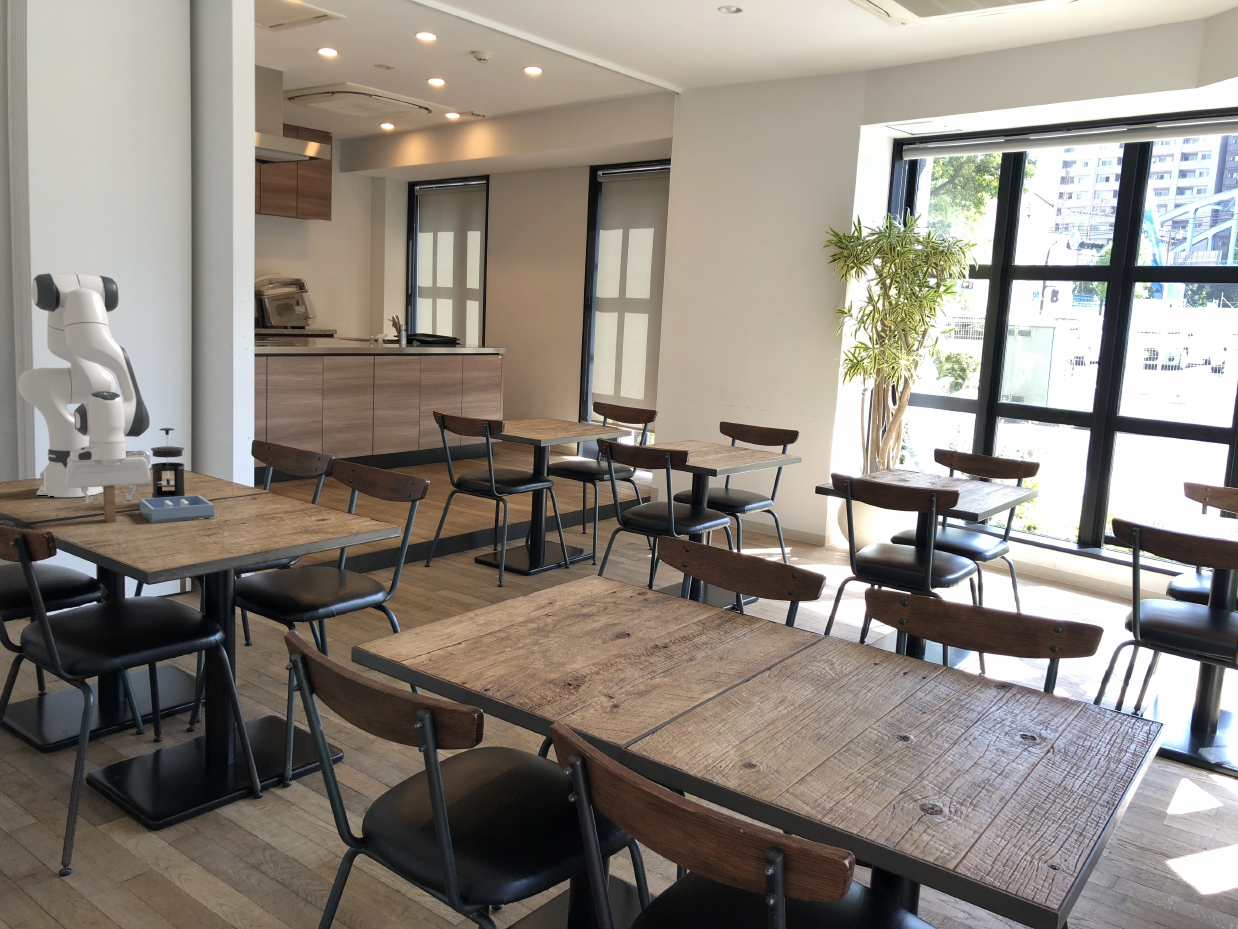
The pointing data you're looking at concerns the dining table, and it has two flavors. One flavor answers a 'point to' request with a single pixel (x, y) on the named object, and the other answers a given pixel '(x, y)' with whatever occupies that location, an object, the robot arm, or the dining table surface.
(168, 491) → the french press
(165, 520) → the shallow blue crate
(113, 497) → the brown wooden block
